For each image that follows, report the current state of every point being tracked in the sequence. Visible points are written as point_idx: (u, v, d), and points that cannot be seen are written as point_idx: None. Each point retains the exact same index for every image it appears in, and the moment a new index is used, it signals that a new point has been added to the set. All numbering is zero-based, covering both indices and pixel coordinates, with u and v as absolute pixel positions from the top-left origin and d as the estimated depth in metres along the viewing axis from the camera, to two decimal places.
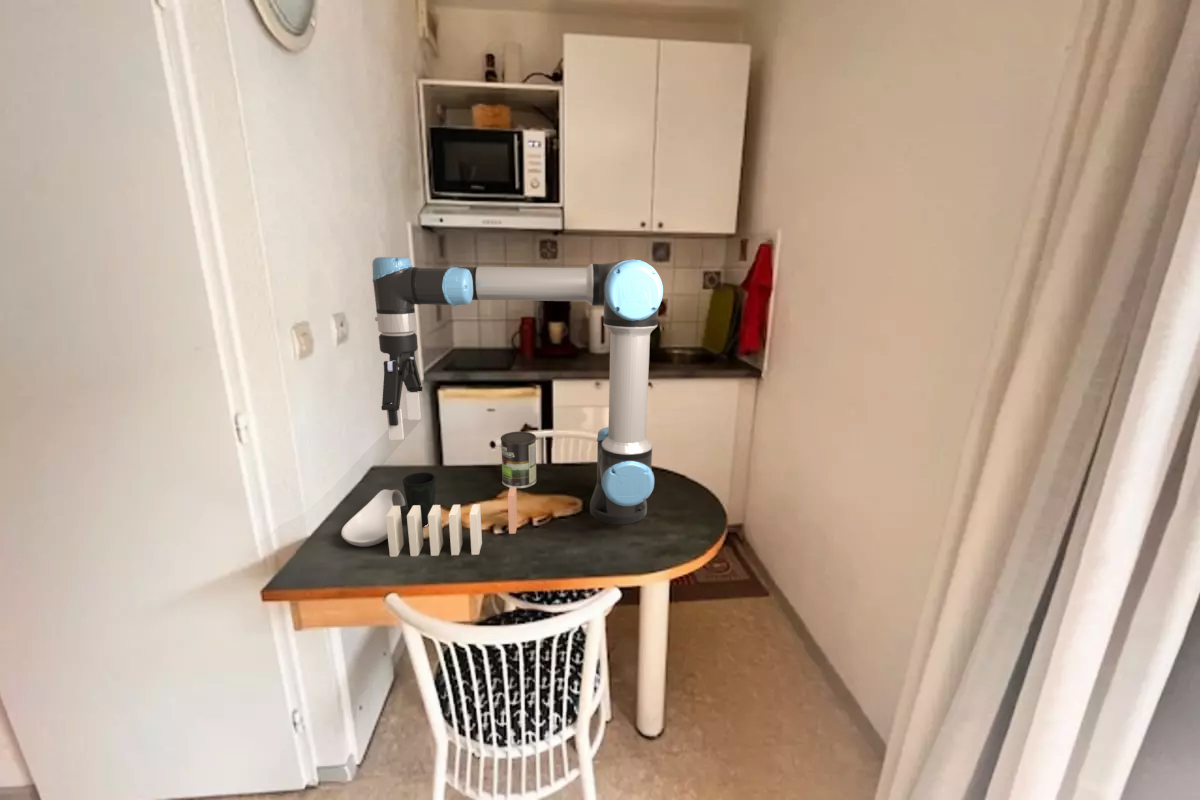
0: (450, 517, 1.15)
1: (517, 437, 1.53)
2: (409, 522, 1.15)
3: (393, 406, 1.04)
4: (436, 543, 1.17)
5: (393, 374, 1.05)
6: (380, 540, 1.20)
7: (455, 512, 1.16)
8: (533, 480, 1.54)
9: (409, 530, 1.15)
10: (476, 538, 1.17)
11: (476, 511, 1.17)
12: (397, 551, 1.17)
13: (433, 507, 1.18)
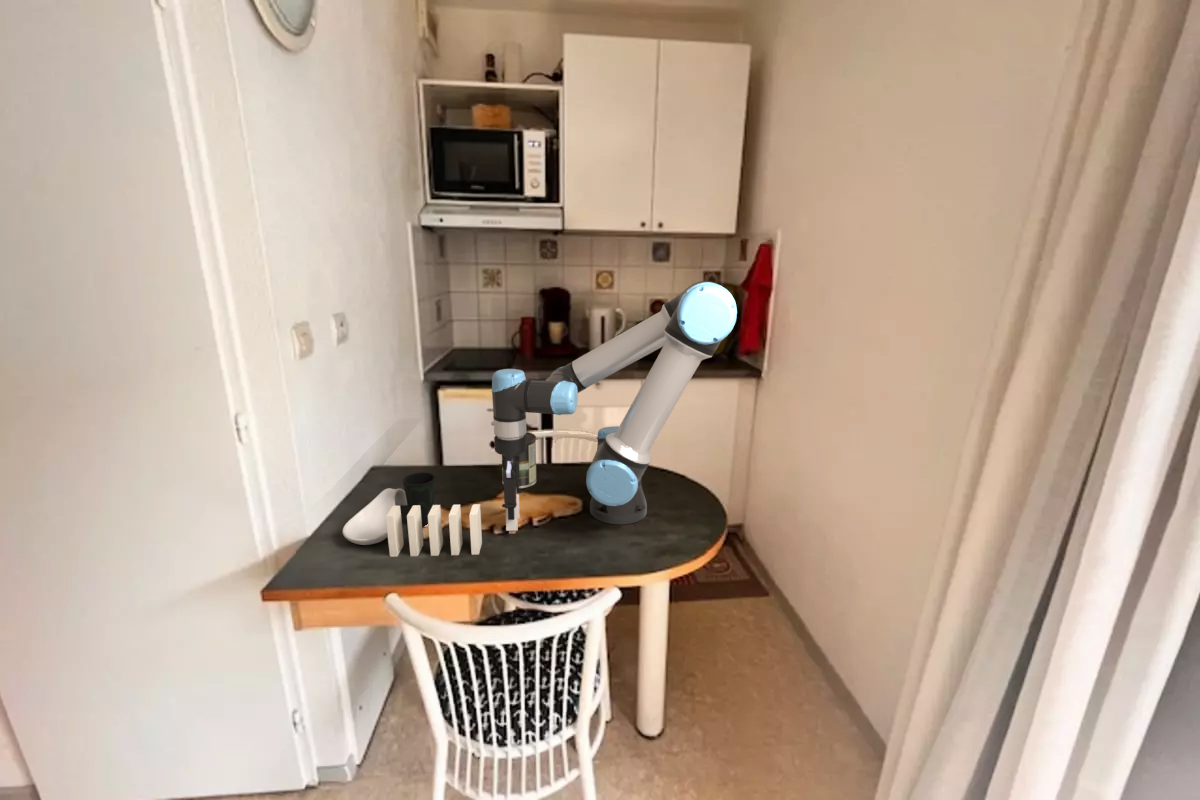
0: (450, 517, 1.15)
1: None
2: (409, 522, 1.15)
3: (514, 506, 1.21)
4: (436, 543, 1.17)
5: (511, 480, 1.20)
6: (380, 539, 1.20)
7: (455, 512, 1.16)
8: (533, 480, 1.54)
9: (409, 530, 1.15)
10: (476, 538, 1.17)
11: (476, 511, 1.17)
12: (397, 551, 1.17)
13: (433, 507, 1.18)
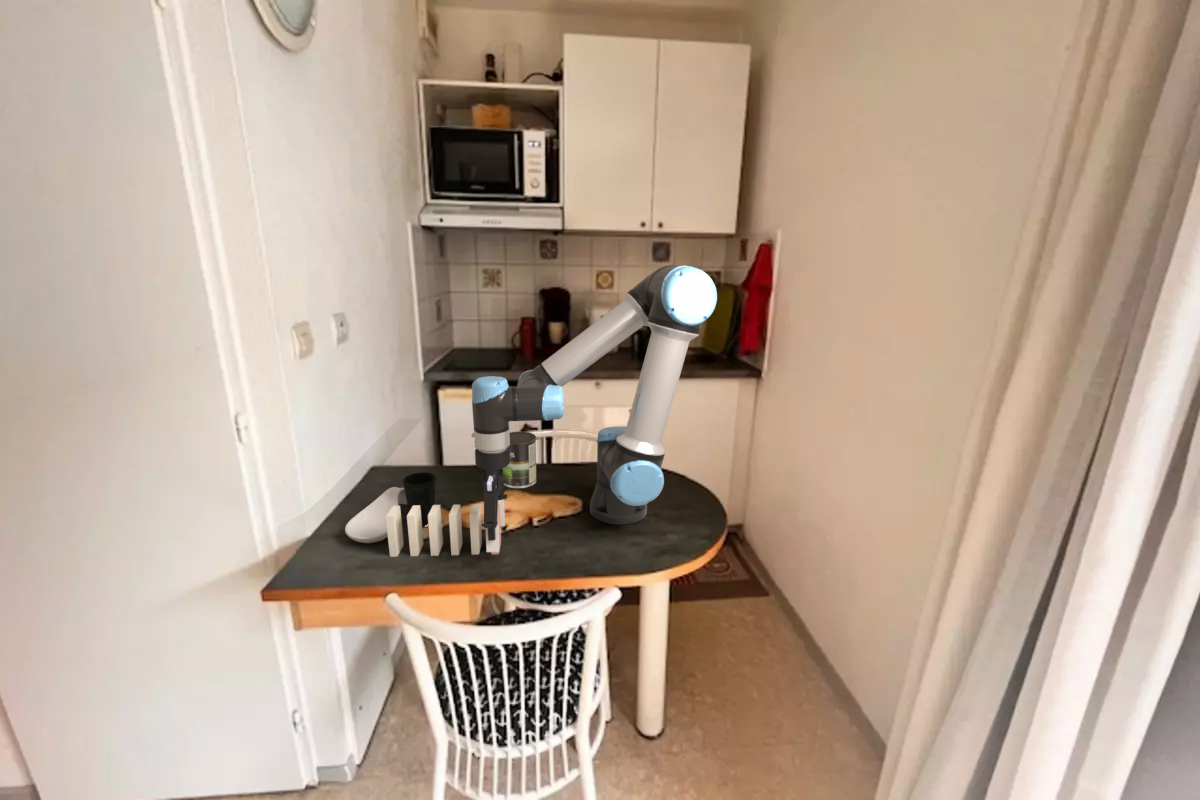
0: (450, 517, 1.15)
1: (517, 437, 1.53)
2: (409, 522, 1.15)
3: (494, 525, 1.09)
4: (436, 543, 1.17)
5: (492, 494, 1.10)
6: (381, 538, 1.21)
7: (455, 512, 1.16)
8: (533, 480, 1.54)
9: (409, 530, 1.15)
10: (476, 538, 1.17)
11: (476, 511, 1.17)
12: (397, 551, 1.17)
13: (433, 507, 1.18)
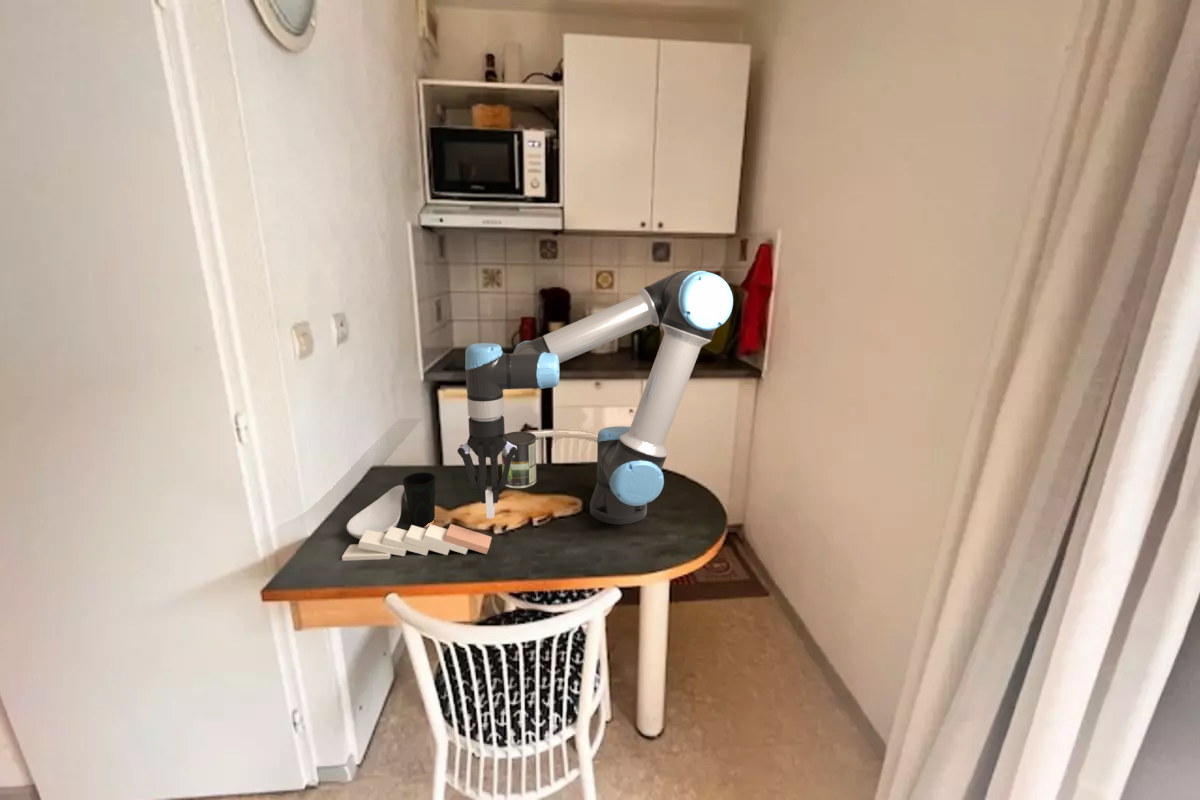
0: (406, 541, 1.16)
1: (517, 437, 1.53)
2: (366, 547, 1.15)
3: None
4: (414, 546, 1.17)
5: None
6: None
7: None
8: (533, 480, 1.54)
9: (375, 549, 1.16)
10: (449, 544, 1.17)
11: (426, 532, 1.17)
12: (383, 554, 1.16)
13: None
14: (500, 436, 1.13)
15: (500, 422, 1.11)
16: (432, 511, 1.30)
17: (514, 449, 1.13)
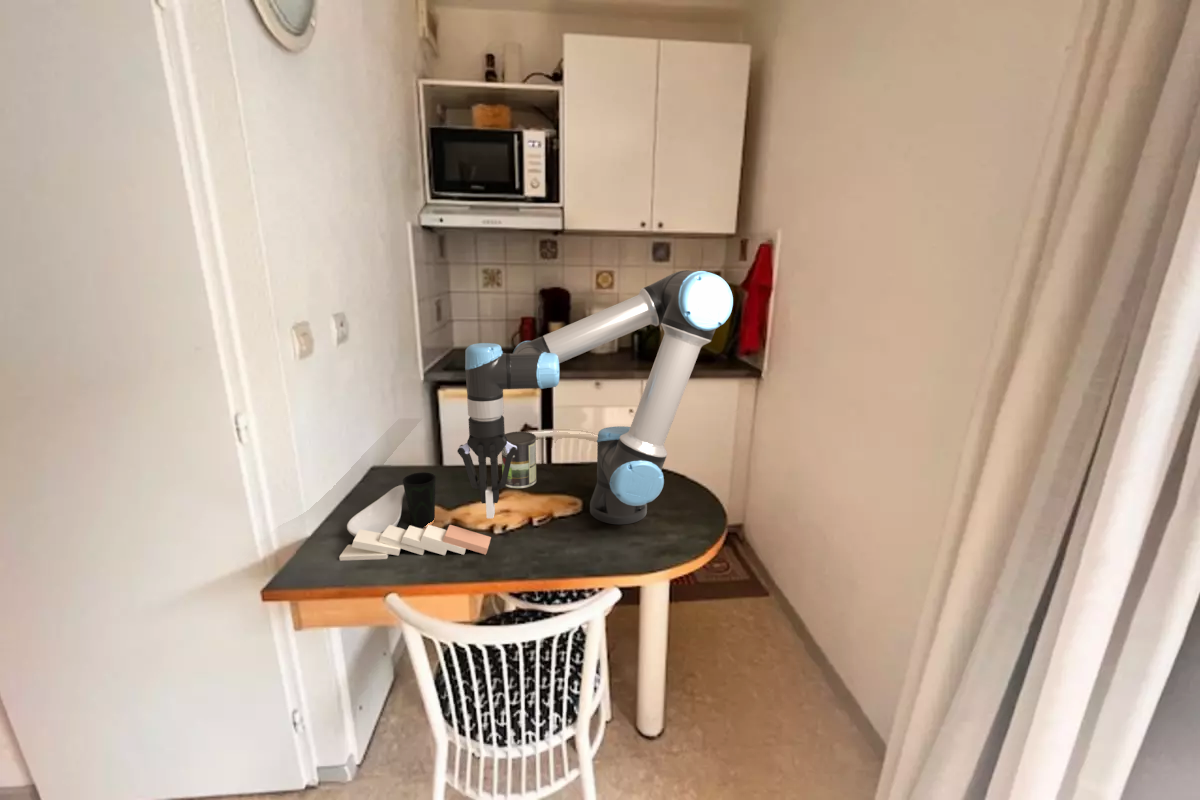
0: (404, 541, 1.16)
1: (517, 437, 1.53)
2: (359, 546, 1.15)
3: None
4: (410, 545, 1.17)
5: None
6: None
7: (404, 535, 1.17)
8: (533, 480, 1.54)
9: (368, 549, 1.15)
10: (448, 544, 1.17)
11: (424, 533, 1.17)
12: (381, 554, 1.16)
13: None
14: (500, 436, 1.13)
15: (500, 422, 1.11)
16: (432, 511, 1.30)
17: (514, 449, 1.13)
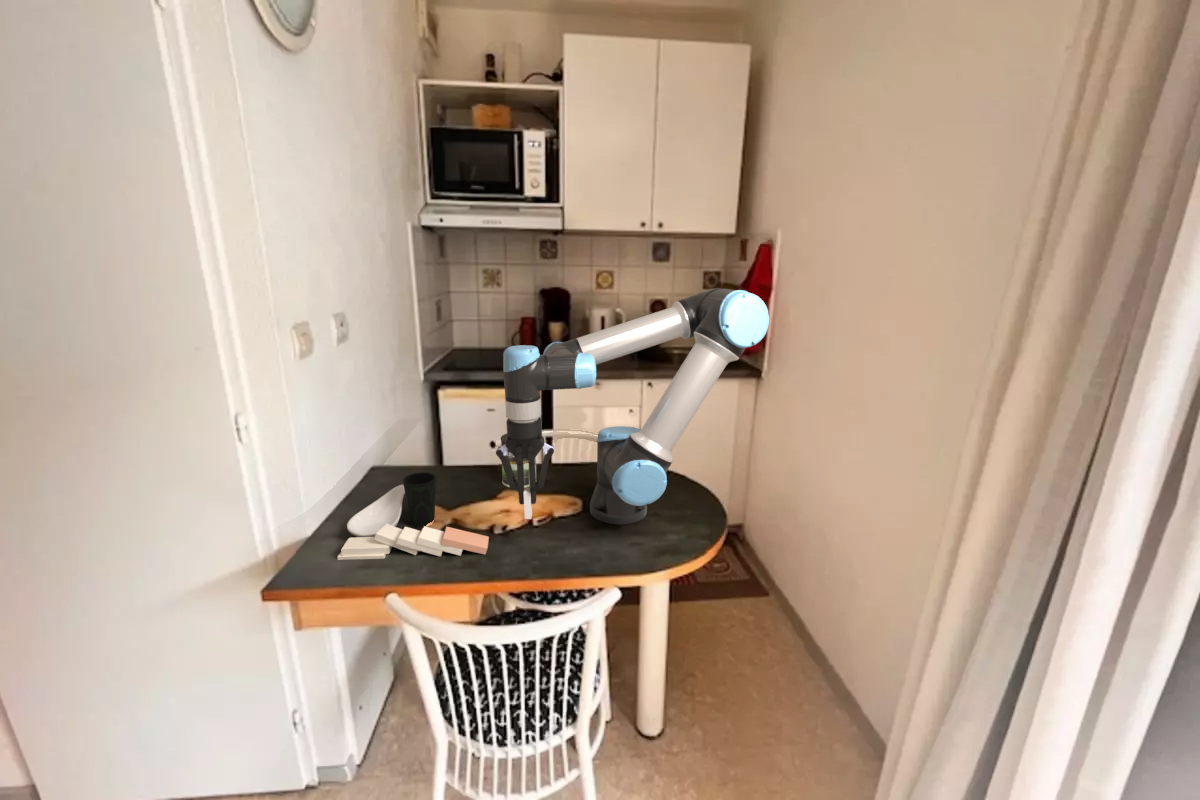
0: (399, 543, 1.16)
1: None
2: (349, 553, 1.16)
3: None
4: None
5: None
6: None
7: (399, 536, 1.16)
8: None
9: (358, 553, 1.16)
10: (444, 546, 1.16)
11: None
12: (378, 555, 1.16)
13: None
14: (538, 437, 1.13)
15: (538, 423, 1.11)
16: (432, 511, 1.30)
17: (552, 450, 1.14)
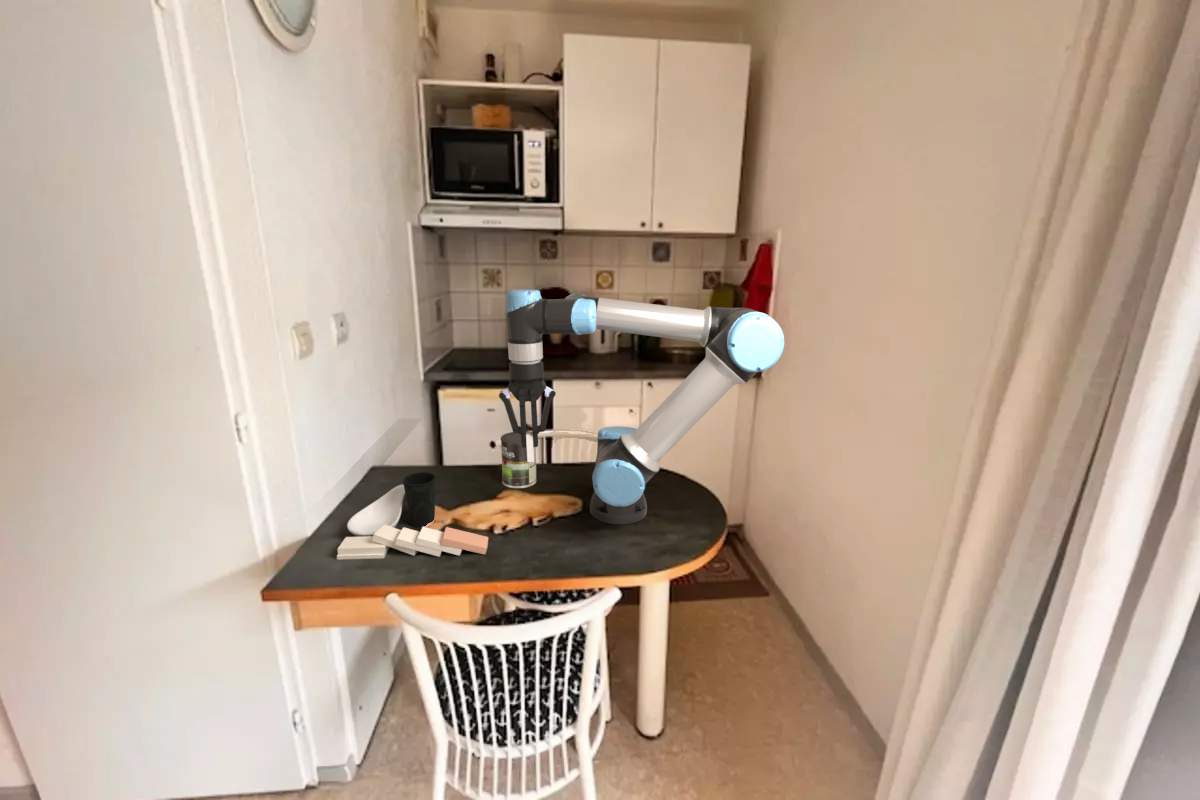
0: (398, 544, 1.15)
1: (517, 437, 1.53)
2: (345, 553, 1.16)
3: None
4: None
5: None
6: None
7: (398, 537, 1.16)
8: (533, 480, 1.54)
9: (354, 553, 1.16)
10: (443, 546, 1.16)
11: None
12: (378, 554, 1.16)
13: None
14: (540, 380, 1.17)
15: (540, 365, 1.15)
16: (432, 511, 1.30)
17: (553, 392, 1.17)
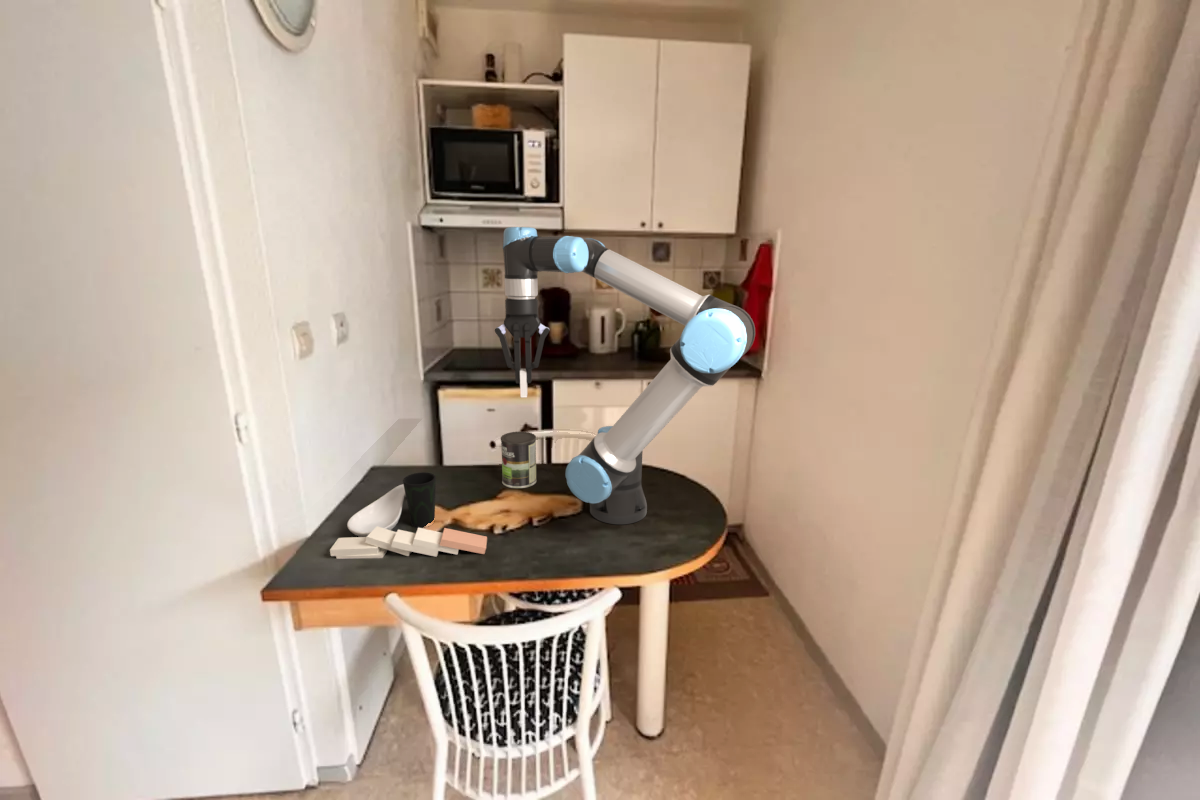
0: (394, 546, 1.15)
1: (517, 437, 1.53)
2: (338, 554, 1.15)
3: (507, 365, 1.24)
4: None
5: (500, 339, 1.22)
6: None
7: (393, 539, 1.16)
8: (533, 480, 1.54)
9: (347, 554, 1.16)
10: None
11: (415, 536, 1.17)
12: (377, 554, 1.16)
13: None
14: (534, 316, 1.21)
15: (535, 302, 1.19)
16: (432, 511, 1.30)
17: (547, 329, 1.22)
